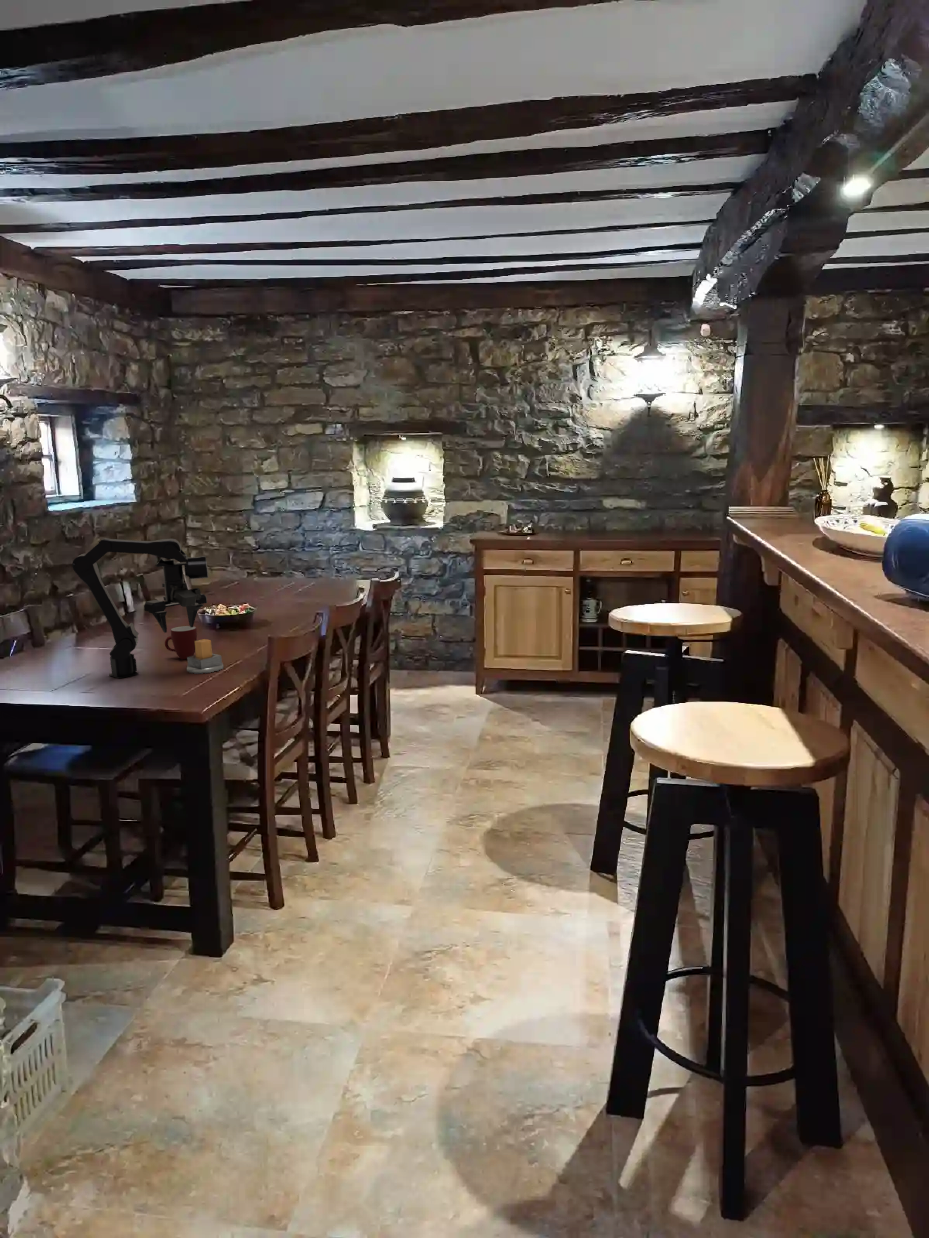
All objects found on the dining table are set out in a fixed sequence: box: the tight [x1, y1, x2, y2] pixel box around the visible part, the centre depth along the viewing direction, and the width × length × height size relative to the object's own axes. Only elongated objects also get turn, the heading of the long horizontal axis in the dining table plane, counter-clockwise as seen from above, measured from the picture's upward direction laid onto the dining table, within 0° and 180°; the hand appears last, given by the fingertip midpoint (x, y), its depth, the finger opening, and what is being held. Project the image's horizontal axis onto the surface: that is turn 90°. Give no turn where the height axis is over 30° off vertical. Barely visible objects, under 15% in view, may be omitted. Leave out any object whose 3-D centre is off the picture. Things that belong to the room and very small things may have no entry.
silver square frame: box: [186, 652, 224, 675], centre depth 278 cm, size 11×11×4 cm
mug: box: [164, 625, 198, 660], centre depth 293 cm, size 11×8×10 cm
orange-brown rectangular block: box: [195, 638, 213, 659], centre depth 277 cm, size 4×4×8 cm
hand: (178, 629), depth 275 cm, fingers open, 9 cm apart
